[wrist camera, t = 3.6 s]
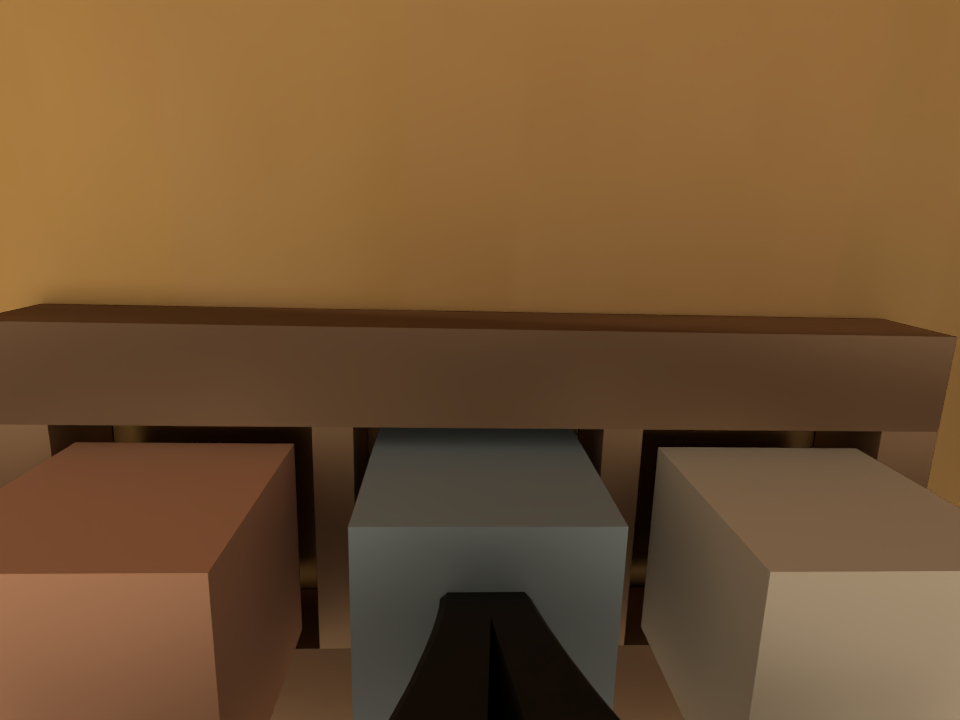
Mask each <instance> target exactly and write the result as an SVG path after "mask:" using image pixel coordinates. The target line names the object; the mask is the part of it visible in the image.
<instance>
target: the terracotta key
mask: <svg viewBox="0 0 960 720" xmlns="http://www.w3.org/2000/svg"><path fill="white" fill-rule="evenodd" d="M301 631H302V614H301V591H300V568H299V545H298V523H297V500H296V477H295V454H294V444H265V443H110V442H75V443H73V444H72V445H70V446H69V447H67V448H65V449H64V450H62V451H60V452H59V453H57V454H56V455H54V456H52V457H51V458H49V459H47V460H46V461H44V462H43V463H41V464H39V465H38V466H36V467H34V468H33V469H31V470H30V471H28V472H26V473H25V474H23V475H21V476H20V477H18V478H17V479H15V480H13V481H12V482H10V483H8V484H7V485H5V486H4V487H2V488H0V720H270V719H271V717H272V714H273V711H274V708H275V705H276V702H277V699H278V697H279V694H280V691H281V688H282V685H283V682H284V679H285V677H286V674H287V671H288V668H289V665H290V662H291V659H292V657H293V654H294V651H295V648H296V645H297V642H298V640H299V637H300V634H301Z"/></svg>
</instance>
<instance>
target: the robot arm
mask: <svg viewBox="0 0 960 720" xmlns="http://www.w3.org/2000/svg"><path fill="white" fill-rule="evenodd" d="M389 720H621V719H620V718H619V717H618V716H617V715H616V714H615V713H614V711H613V710H612V709H611V708H610V707H609V706H608V705H607V703H606V702H605V701H604V700H603V699H602V697H601V696H600V695H599V694H598V692H597V691H596V690H595V689H594V688H593V686H592V685H591V684H590V682H589V681H588V680H587V679H586V677H585V676H584V675H583V673H582V672H581V671H580V669H579V668H578V667H577V666H576V664H575V663H574V662H573V660H572V659H571V658H570V656H569V655H568V654H567V652H566V651H565V650H564V648H563V647H562V645H561V644H560V643H559V641H558V640H557V638H556V637H555V635H554V634H553V632H552V631H551V629H550V628H549V626H548V625H547V623H546V622H545V620H544V619H543V617H542V616H541V614H540V613H539V611H538V609H537V608H536V606H535V604H534V603H533V601H532V599H531V598H530V597H529V596H528V595H527V594H526V593H525V592H447V593H446V594H445V595H444V596H443V597H442V598H440V603H439V609H438V613H437V617H436V620H435V623H434V626H433V629H432V632H431V634H430V637H429V639H428V642H427V644H426V647H425V649H424V651H423V654H422V656H421V658H420V660H419V662H418V664H417V667H416V669H415V671H414V673H413V675H412V677H411V680H410V682H409V684H408V686H407V687H406V689H405V691H404V693H403V695H402V697H401V698H400V700H399V702H398V704H397V706H396V707H395V709H394V711H393V713H392V715H391V716H390V718H389Z"/></svg>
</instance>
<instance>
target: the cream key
mask: <svg viewBox="0 0 960 720" xmlns="http://www.w3.org/2000/svg"><path fill="white" fill-rule="evenodd" d="M641 628H642V630H643V632H644V634H645V636H646V638H647V641H648V643H649V645H650V647H651V649H652V651H653V653H654V656H655V658H656V660H657V662H658V664H659V666H660V668H661V671H662V673H663V675H664V677H665V679H666V681H667V683H668V686H669V688H670V690H671V692H672V694H673V696H674V698H675V701H676V703H677V705H678V707H679V709H680V711H681V713H682V716H683V718H684V720H960V508H959V507H957V506H955V505H953V504H952V503H950V502H948V501H947V500H945V499H943V498H941V497H940V496H938V495H936V494H934V493H933V492H931V491H929V490H927V489H926V488H924V487H922V486H921V485H919V484H917V483H915V482H914V481H912V480H910V479H908V478H907V477H905V476H903V475H901V474H900V473H898V472H896V471H895V470H893V469H891V468H889V467H888V466H886V465H884V464H882V463H881V462H879V461H877V460H875V459H874V458H872V457H870V456H868V455H867V454H865V453H863V452H862V451H860V450H858V449H856V448H722V447H658V455H657V465H656V476H655V486H654V497H653V507H652V518H651V528H650V538H649V549H648V559H647V570H646V580H645V591H644V601H643V611H642V622H641Z"/></svg>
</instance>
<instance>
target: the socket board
mask: <svg viewBox="0 0 960 720" xmlns="http://www.w3.org/2000/svg"><path fill="white" fill-rule="evenodd" d="M956 340H957V337H955V336H951V335H947V334H943V333H938V332H934V331H930V330H926V329H922V328H918V327H914V326H910V325H906V324H902V323H897V322H893V321H889V320H885V319H858V318H803V317H747V316H692V315H636V314H581V313H525V312H470V311H414V310H359V309H303V308H248V307H192V306H137V305H81V304H38V305H33V306H29V307H24V308H20V309H15V310H11V311H6V312H2V313H0V488H2V487H4V486H5V485H7V484H8V483H10V482H12V481H13V480H15V479H17V478H18V477H20V476H21V475H23V474H25V473H26V472H28V471H30V470H31V469H33V468H34V467H36V466H38V465H39V464H41V463H43V462H44V461H46V460H47V459H49V458H51V457H52V456H54V455H56V454H57V453H59V452H60V451H62V450H64V449H65V448H67V447H69V446H70V445H72V444H73V443H75V442H110V443H114V442H113V434H112V425H130V426H256V427H312V449H313V477H314V504H315V531H316V558H317V585H318V589H300V591H301V614H302V631H301V634H300V637H299V640H298V642H297V645H296V648H295V651H294V654H293V657H292V659H291V662H290V665H289V668H288V671H287V674H286V677H285V679H284V682H283V685H282V688H281V691H280V694H279V697H278V699H277V702H276V705H275V708H274V711H273V714H272V717H271V719H270V720H353V712H352V671H351V629H350V587H349V546H348V526H349V522H350V519H351V516H352V513H353V510H354V507H355V504H356V500H357V497H358V494H359V491H360V488H361V485H362V482H363V478H364V475H365V472H366V469H367V466H368V432H367V427H383V428H510V429H579V442H580V443H581V445H582V447H583V449H584V450H585V452H586V454H587V456H588V457H589V459H590V461H591V463H592V464H593V466H594V468H595V469H596V471H597V473H598V475H599V476H600V478H601V480H602V482H603V483H604V485H605V487H606V489H607V490H608V492H609V494H610V496H611V497H612V499H613V501H614V502H615V504H616V506H617V508H618V509H619V511H620V513H621V515H622V516H623V518H624V520H625V522H626V523H627V525H628V538H627V550H626V561H625V573H624V584H623V596H622V607H621V619H620V630H619V642H618V653H617V665H616V676H615V688H614V699H613V711H614V713H615V714H616V715H617V716H618V717H619V718H620V719H621V720H684V718H683V716H682V713H681V711H680V709H679V707H678V705H677V703H676V701H675V698H674V696H673V694H672V692H671V690H670V688H669V686H668V683H667V681H666V679H665V677H664V675H663V673H662V671H661V668H660V666H659V664H658V662H657V660H656V658H655V656H654V653H653V651H652V649H651V647H650V645H649V643H648V641H647V638H646V636H645V634H644V632H643V630H642V628H641V622H642V611H643V601H644V591H645V587H629V582H630V571H631V560H632V549H633V538H634V527H635V515H636V504H637V493H638V482H639V471H640V460H641V448H642V437H643V430H763V431H816V432H815V438H814V445H813V448H856V449H858V450H860V451H862V452H863V453H865V454H867V455H868V456H870V457H872V458H874V459H875V460H877V461H879V462H881V463H882V464H884V465H886V466H888V467H889V468H891V469H893V470H895V471H896V472H898V473H900V474H901V475H903V476H905V477H907V478H908V479H910V480H912V481H914V482H915V483H917V484H919V485H921V486H922V487H924V488H927V483H928V478H929V474H930V469H931V464H932V459H933V454H934V449H935V444H936V439H937V434H938V429H939V424H940V419H941V414H942V409H943V404H944V399H945V394H946V389H947V385H948V380H949V375H950V370H951V365H952V360H953V355H954V350H955V345H956Z"/></svg>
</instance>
